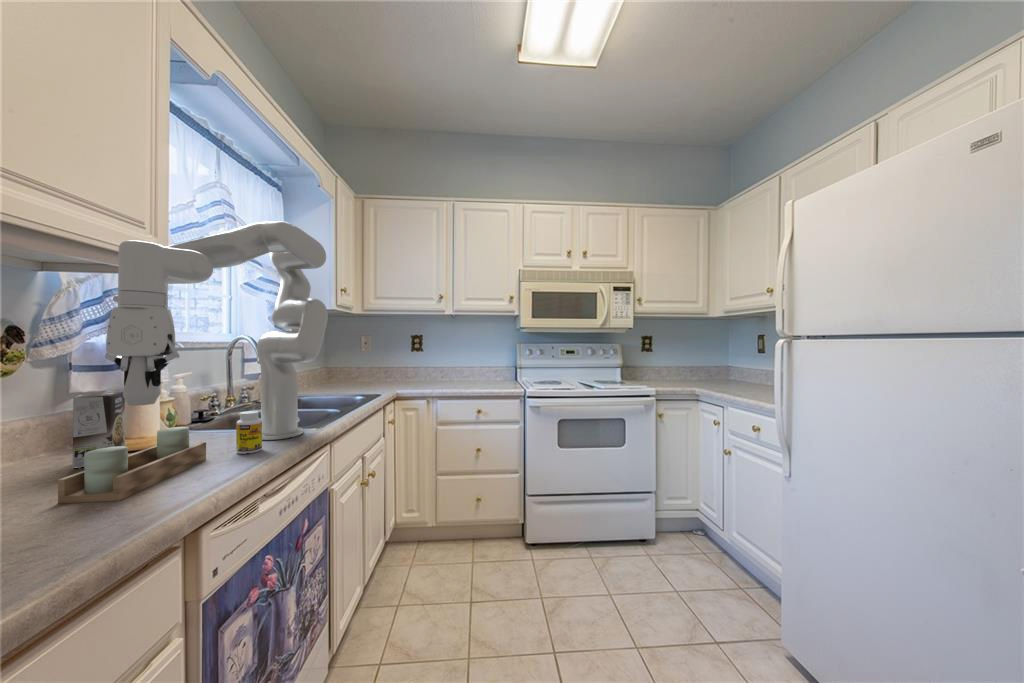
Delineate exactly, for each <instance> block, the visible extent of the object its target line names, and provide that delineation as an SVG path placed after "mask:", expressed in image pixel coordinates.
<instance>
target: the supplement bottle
mask: <svg viewBox="0 0 1024 683" xmlns="http://www.w3.org/2000/svg"><path fill="white" fill-rule="evenodd" d="M239 414H240V416H239V417H240V419H239V420H237V421H236V429H235V430H236V435H235V436H236V439H235V440H236V442H235V443H236V445H235V447H236V448H235V452H236V453H237V454H239V455H247V454H246V453H250V454H254V452H255V453H258V452H260V451H261V450H262V448H263V440H262V419H261V417H259V416H260V414H259V411H257V410H248V411H241V412H240V413H239Z"/></svg>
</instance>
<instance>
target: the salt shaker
mask: <svg viewBox="0 0 1024 683" xmlns="http://www.w3.org/2000/svg"><path fill="white" fill-rule="evenodd" d="M128 371H129V372H128V376H127V380H126V383H125V386H124V385H123V386H124V387H123V390H122V392H123V397H124V398H125V403H126V404H127V405H128V406H129V407H130V406H131V407H134V406H135V407H136V406H138V407H139V406H147V405H148V406H149V405H150V406H151V405H153V404H156V402H157V400H158V399H159V397H160V395H161V393H162V390H161V385H160V386H153V385H152V381H151V380H150V382H149V387H148V388H147V384H146V380H145V371H149V370H148V364H147V356H132V357H131V361H130V365H129V369H128Z"/></svg>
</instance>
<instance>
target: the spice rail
mask: <svg viewBox="0 0 1024 683" xmlns="http://www.w3.org/2000/svg"><path fill="white" fill-rule="evenodd" d="M205 459H206V460H207V442H206V441H202V442H199V443H197V444H193V445H191V446H190V427H189V426H176V427H175V426H174V427H168V428H162V429H159V430H157V431H156V445H153V446H151V447H147V448H145V449H142V450H139V451H136V452H134V453H131V454H130V453H129V447H128V446H126V445H125V446H118V447H107V448H101V449H96V450H92V451H88V452H86V453H85V454H84V468H83V469H84V470H82V471H79V472H76V473H73V474H71V475H67V476H65V477H62V478H59V479H57V504H72V503H74V504H75V503H76V504H77V503H95V502H96V503H97V502H117V501H118V502H119V501H122V500H123V499H126V498H128V497H130V496H132V495H134V494H136V493H138V491H139V492H140V491H143V490H145V489H148V488H149V487H151V486H153V485H155V484H157V483H160V482H162V481H164V480H166V479H168V478H170V477H173V476H174V475H176V474H179V473H181V472H183V471H185V470H187V469H189V468H191V467H193V466H195V465H194V464H196V463H198V462H200V463H202V462H204V461H206V460H205ZM203 460H204V461H203ZM201 461H202V462H201ZM198 464H199V463H198ZM192 465H193V466H192ZM196 465H197V464H196ZM190 466H191V467H190ZM188 467H189V468H188ZM186 468H187V469H186ZM184 469H185V470H184ZM180 471H181V472H180Z"/></svg>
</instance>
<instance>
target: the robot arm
mask: <svg viewBox="0 0 1024 683" xmlns="http://www.w3.org/2000/svg"><path fill="white" fill-rule="evenodd" d="M266 254H269V258H270V261H271V263H272V265H273V266H274V268H275V269H276V272H277V273H278V274H277V275H278V276H279V279H280V280H279V281H280V286H279V289H278V290H279V291H278V294H277V298H276V300H275V304H274V307H273V312H272V316H271V317H272V322H273V324H274V325H275V326H276V327H278V328H281V329H285V330H274V331H269V332H266V333H264V334H263V335H261V336H260V337H259V339H258V340H257V345H256V349H257V356H258V360H259V365H260V376H261V377H260V419H262V441H275V440H276V441H277V440H283V439H289V438H290V437H291V438H295V437H298V436H300V435H302V434H303V433H304V428H302V427H299V426H298V423H299V422H300V421H301V419H300V417H299V415H298V412H299V411H298V396H299V395H298V393H299V392H298V389H299V388H298V386H299V385H298V382H299V379H298V378H299V376H298V372H297V370H296V368H295V366H294V364H302V363H303V364H305V363H311V362H314V361H315V360H316V359H317V358H318V356H319V354H320V352H321V349H322V346H323V342H324V338H325V337H324V336H325V333H326V329H327V325H328V321H329V319H328V316H329V313H328V309H327V307H326V304H325V303H324V302H323V301H322V300H320V299H318V298H314V297H313V298H312V297H310V294H311V290H312V289H311V288H312V287H311V284H310V281H309V279H308V278H307V276H306V275H305V274H304V272H303V271H302V270H315V269H319V268H321V267H322V266H324V265H325V263H326V261H327V252H326V250H325V248H324V246H323V245H322V244H321V243H320V242H319V241H318V240H317V239H315V238H314V237H312V236H311V235H310V234H308V233H306V231H304V230H303V229H301V228H300V227H298V226H296V225H294V224H292V223H291V222H288V221H283V220H280V221H279V220H278V221H261V222H254V223H250V224H247V225H243V226H241V227H238V228H234V229H230V230H228V231H224V232H221V233H217V234H211V235H208V236H203V237H201V238H196V239H191V240H187V241H184V242H178V243H175V244H174V243H173V244H170V245H168V246H163V245H162V244H159V243H158V244H157V243H155V242H149V241H143V240H125V241H122V242H120V244H119V246H118V266H117V267H118V270H117V272H118V273H117V274H118V275H117V278H118V280H117V281H118V282H117V286H118V287H117V288H118V289H117V295H114V296H113V298H112V301H113V302H114V303H117V307H112V310H111V313H110V316H109V320H108V324H107V330H106V340H105V349H106V350H105V352H106V354H105V355H104V358H105V359H107V360H109V361H111V362H113V363H115V364H116V365H117V366H118V367H119V368H120V371H121V372H123V373H124V374H123V386H125V383H126V380H127V376H128V372H129V371H128V369H129V365H130V361H131V357H132V356H147V364H148V370H149V371H145V380H146V384H147V388H148V387H149V382H150V380H151V381H152V385H153V386H160V387H161V385H162V384H161V382H162V380H161V379H162V378H161V377H162V376H161V375H162V374H161V373H162V372H161V371H164V370H165V367H167V365H169V363H171V362H175V361H176V360H178V359H180V353H178V350H177V349H176V331H175V323H174V318H173V313H172V310H171V309H168V306H169V303H168V302H169V298H168V297H169V285H176V284H178V285H179V284H181V285H188V284H189V285H190V284H193V285H194V284H201V283H203V282H205V281H207V280H209V279H210V278H211V277H212V275H213V272H214V269H223V268H231V267H236V266H240V265H243V264H245V263H247V262H250V261H252V260H255V259H257V258H260V257H262V256H265V255H266ZM286 329H287V330H286Z"/></svg>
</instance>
